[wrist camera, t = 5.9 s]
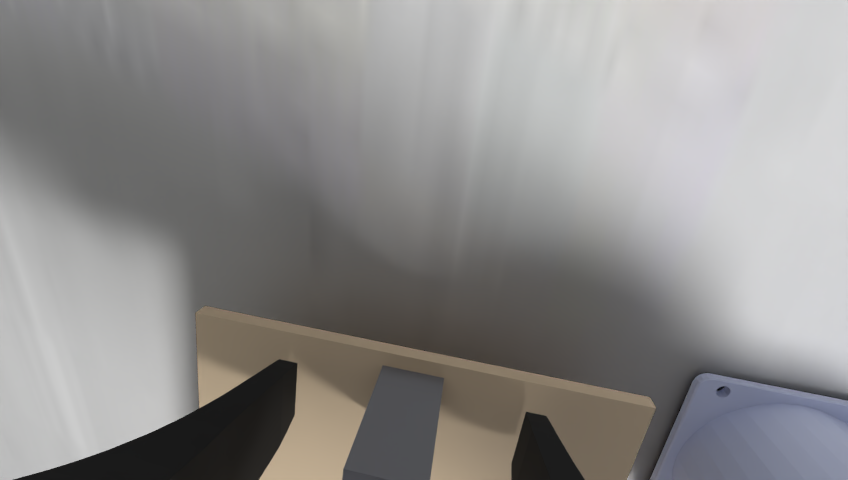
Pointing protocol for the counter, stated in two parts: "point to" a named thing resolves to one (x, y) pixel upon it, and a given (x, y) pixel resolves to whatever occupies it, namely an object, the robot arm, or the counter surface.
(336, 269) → the counter surface
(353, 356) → the sliding lid
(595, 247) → the counter surface
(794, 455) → the robot arm
